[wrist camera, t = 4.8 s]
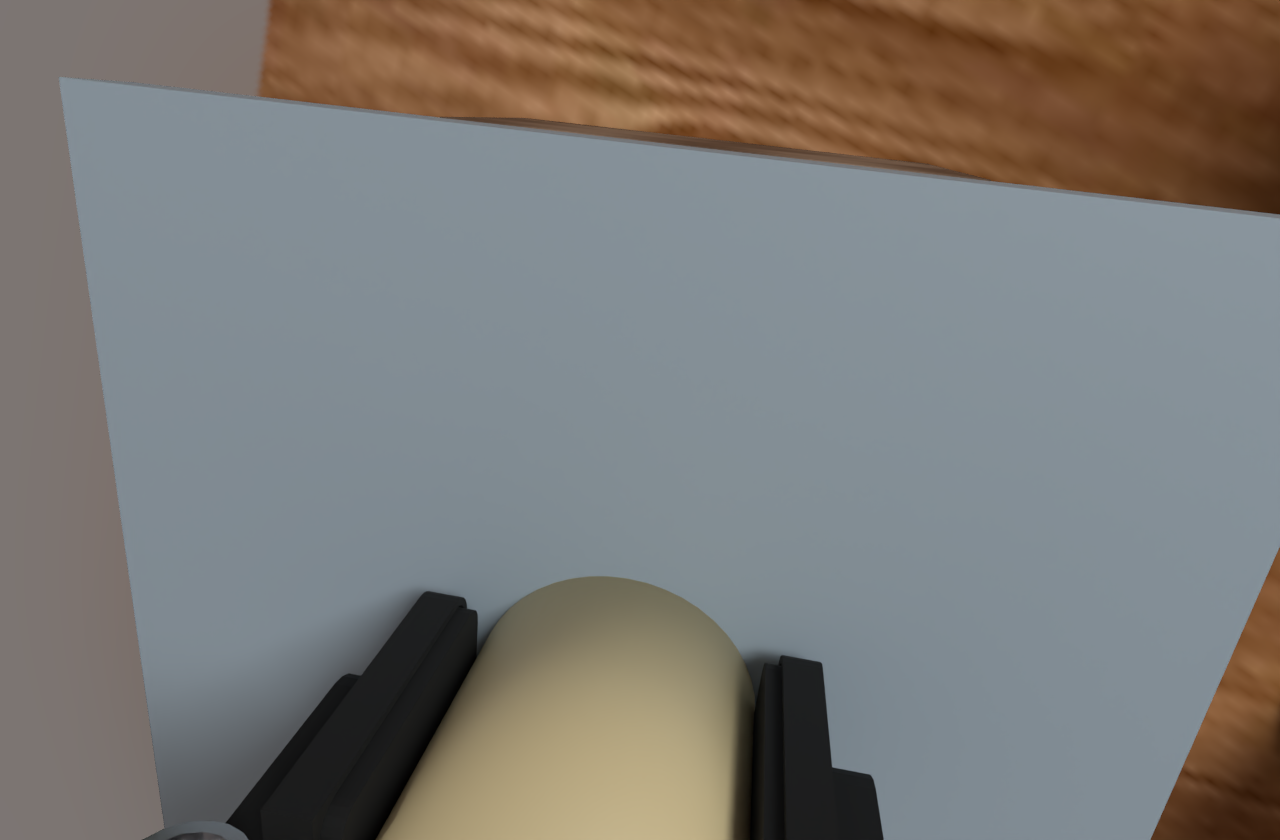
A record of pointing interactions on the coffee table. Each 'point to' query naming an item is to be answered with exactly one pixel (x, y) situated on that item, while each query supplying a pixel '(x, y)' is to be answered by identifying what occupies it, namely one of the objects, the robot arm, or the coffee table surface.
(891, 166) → the box
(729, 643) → the lid
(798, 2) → the coffee table surface
